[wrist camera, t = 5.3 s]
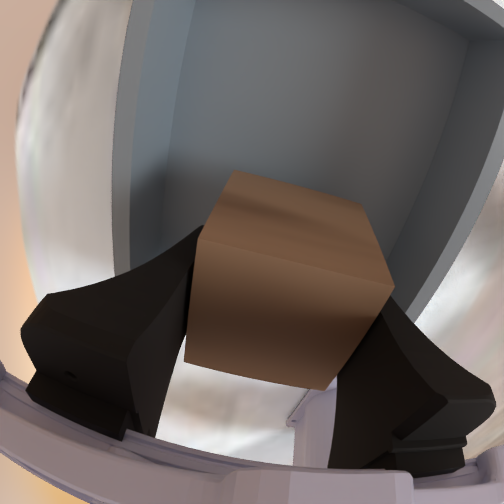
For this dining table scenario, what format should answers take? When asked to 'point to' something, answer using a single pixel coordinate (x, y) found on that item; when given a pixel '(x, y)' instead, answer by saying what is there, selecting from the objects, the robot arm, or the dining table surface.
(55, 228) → the dining table surface
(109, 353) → the robot arm
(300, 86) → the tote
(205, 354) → the walnut block
